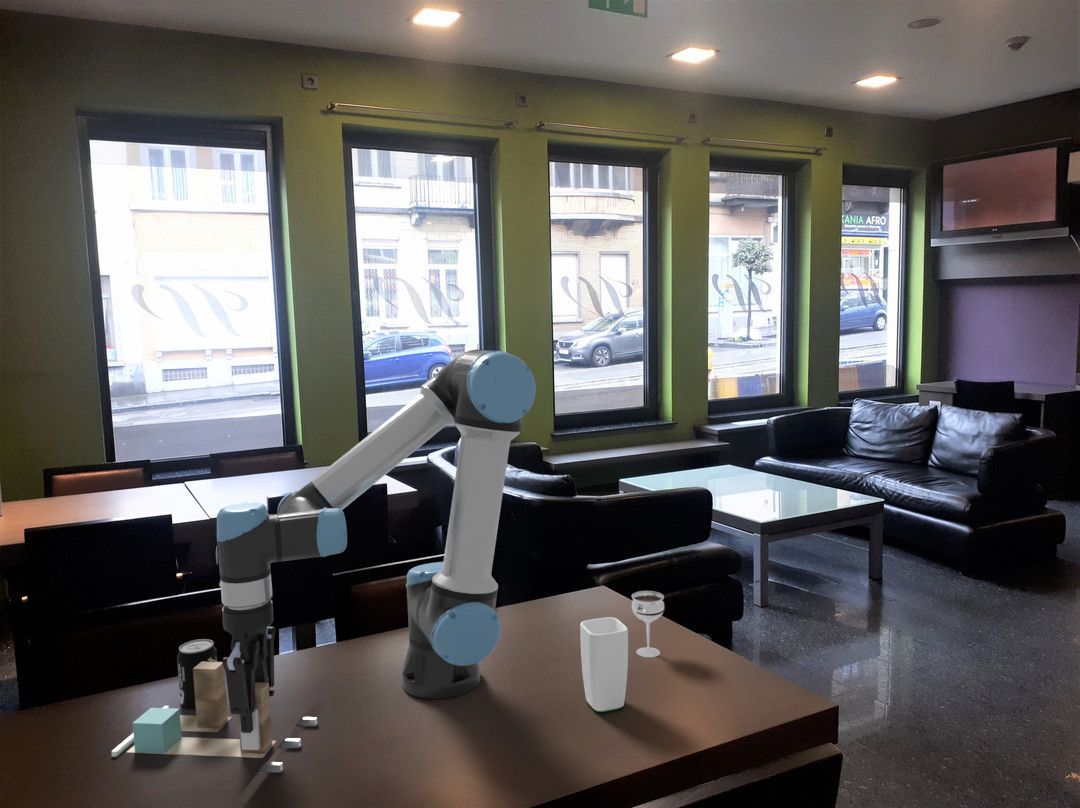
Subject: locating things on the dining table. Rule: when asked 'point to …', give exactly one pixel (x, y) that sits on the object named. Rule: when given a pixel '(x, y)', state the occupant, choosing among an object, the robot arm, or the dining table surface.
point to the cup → (604, 662)
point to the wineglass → (647, 615)
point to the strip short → (208, 699)
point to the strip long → (231, 745)
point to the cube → (157, 730)
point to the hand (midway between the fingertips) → (256, 742)
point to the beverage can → (187, 661)
